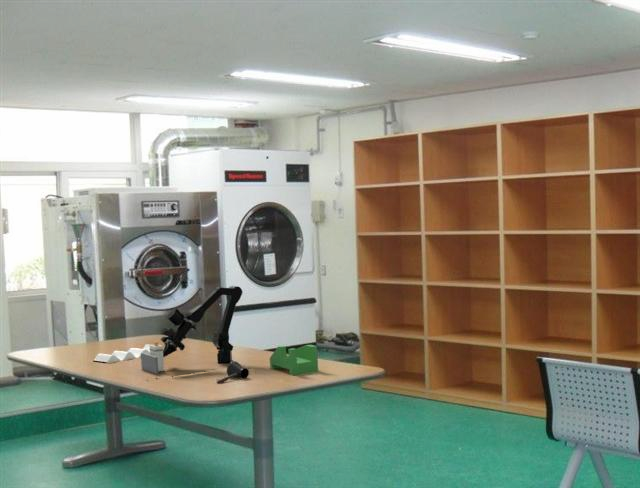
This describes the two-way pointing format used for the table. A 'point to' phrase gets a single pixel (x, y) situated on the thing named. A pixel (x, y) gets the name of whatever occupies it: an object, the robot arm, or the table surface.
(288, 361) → the green cradle stand
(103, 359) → the white zigzag rack
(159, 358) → the block
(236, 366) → the coffee pot
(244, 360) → the table surface
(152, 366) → the grey block
